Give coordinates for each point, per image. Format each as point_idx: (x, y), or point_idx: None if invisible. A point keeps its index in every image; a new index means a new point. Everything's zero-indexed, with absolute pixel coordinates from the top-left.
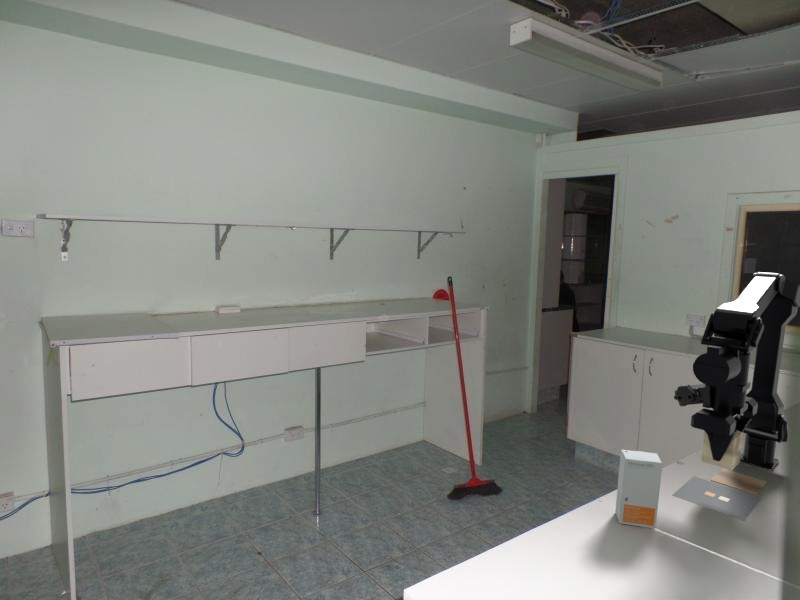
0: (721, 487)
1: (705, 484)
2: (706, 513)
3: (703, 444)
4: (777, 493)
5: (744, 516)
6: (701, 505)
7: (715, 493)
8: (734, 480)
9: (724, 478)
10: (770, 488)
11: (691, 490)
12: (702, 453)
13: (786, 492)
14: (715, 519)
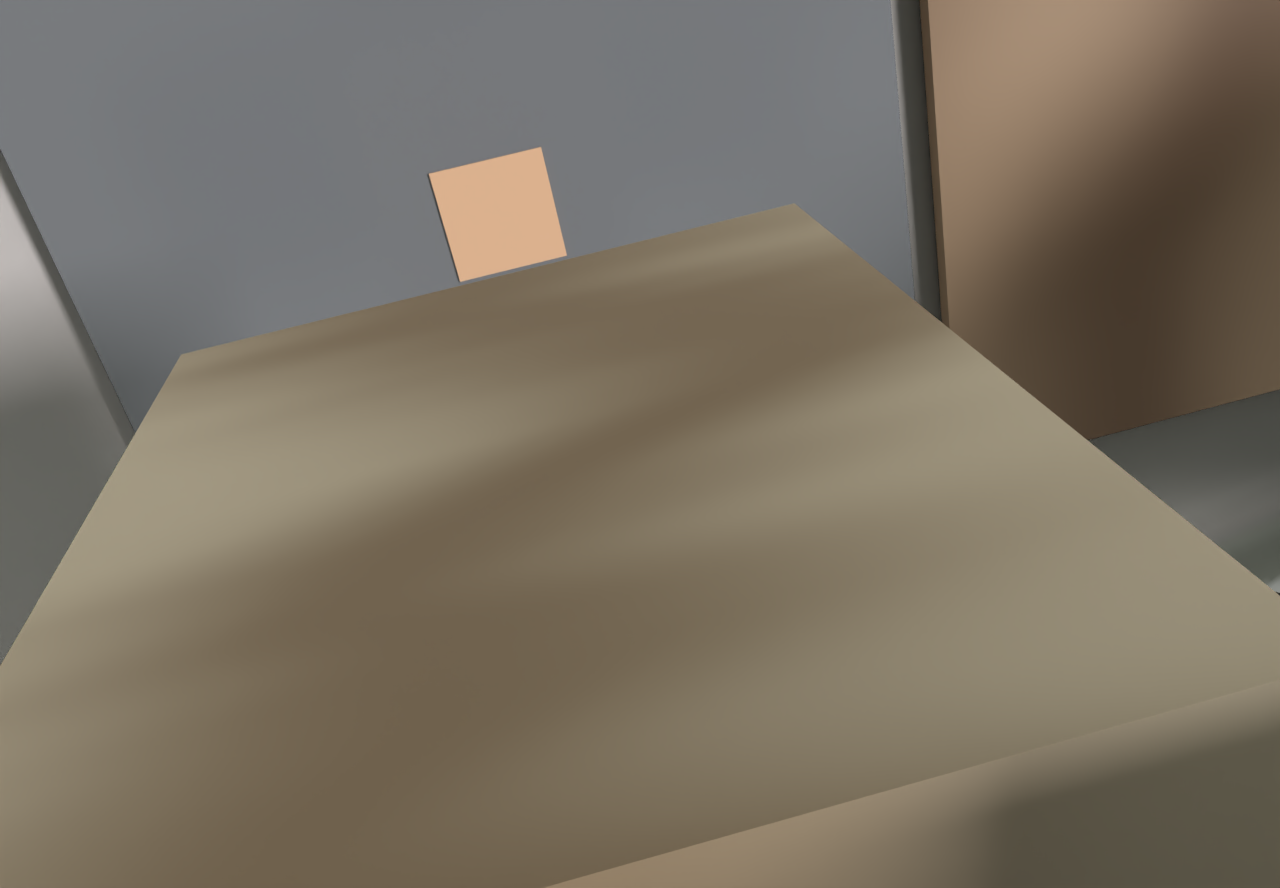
0: (826, 178)
1: (730, 14)
2: (16, 450)
3: (42, 608)
4: (1183, 516)
5: None
6: (97, 337)
7: (586, 237)
8: (1152, 161)
9: (1119, 59)
10: (1257, 431)
11: (357, 18)
12: (137, 444)
13: (1270, 539)
14: (2, 563)
